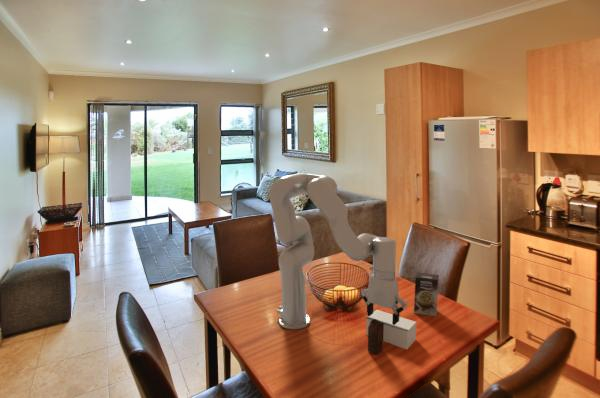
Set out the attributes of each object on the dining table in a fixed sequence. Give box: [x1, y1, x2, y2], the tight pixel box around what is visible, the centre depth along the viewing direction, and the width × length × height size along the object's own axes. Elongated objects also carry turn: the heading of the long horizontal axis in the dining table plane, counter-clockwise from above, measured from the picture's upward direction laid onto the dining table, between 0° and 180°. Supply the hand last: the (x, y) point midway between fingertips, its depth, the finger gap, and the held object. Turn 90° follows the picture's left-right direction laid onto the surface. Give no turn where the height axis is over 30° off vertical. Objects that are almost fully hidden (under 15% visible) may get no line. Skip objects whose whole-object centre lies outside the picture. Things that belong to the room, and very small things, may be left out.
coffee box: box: [413, 272, 439, 317], centre depth 152 cm, size 9×6×16 cm
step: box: [365, 309, 417, 350], centre depth 134 cm, size 16×8×7 cm, turn 51°
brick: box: [367, 319, 384, 355], centre depth 126 cm, size 11×4×5 cm
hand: (382, 318), depth 129 cm, fingers open, 9 cm apart
